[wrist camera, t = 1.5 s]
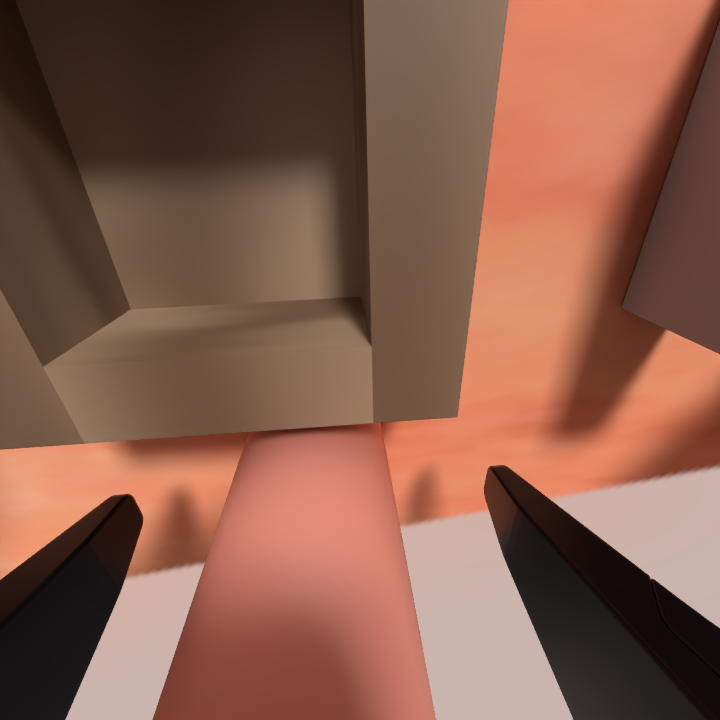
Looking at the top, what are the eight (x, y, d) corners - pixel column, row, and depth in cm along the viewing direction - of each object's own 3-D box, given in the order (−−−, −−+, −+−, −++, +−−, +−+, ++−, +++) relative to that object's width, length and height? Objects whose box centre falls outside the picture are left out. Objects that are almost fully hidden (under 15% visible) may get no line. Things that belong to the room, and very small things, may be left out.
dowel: (376, 358, 11) (494, 868, 3) (378, 453, 13) (451, 919, 5) (247, 366, 11) (-9, 930, 3) (269, 461, 12) (155, 957, 5)
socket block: (438, -129, 6) (571, -518, 3) (416, 337, 10) (457, 417, 7) (-99, -124, 6) (-743, -571, 2) (109, 356, 10) (-7, 450, 7)
